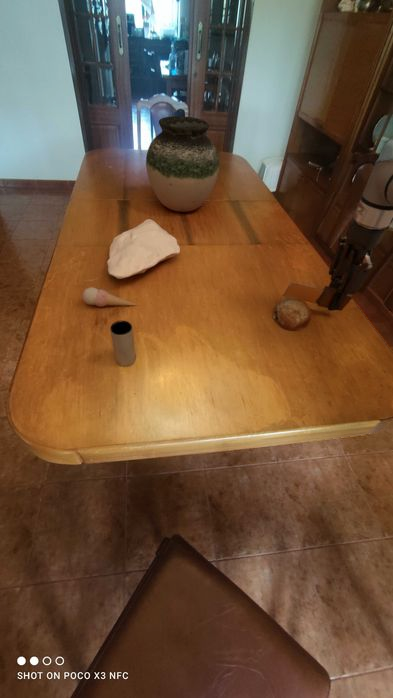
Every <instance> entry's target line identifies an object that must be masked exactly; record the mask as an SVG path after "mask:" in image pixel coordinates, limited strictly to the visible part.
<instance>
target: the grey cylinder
mask: <svg viewBox="0 0 393 698" xmlns="http://www.w3.org/2000/svg"><path fill="white" fill-rule="evenodd" d="M109 331H110V336H111V340H112V347H113V352H114V357H115V358H114V359H115V362H116V364H117V365H118V366H119V367H130V366H132V365H134V363H135V362H136V360H137V359H136V349H135V340H134V331H133V325H132V323H131V322H129V321H127V320H117V321H115V322H113V323H112V324H111V326H110V329H109Z"/></svg>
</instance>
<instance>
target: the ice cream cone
mask: <svg viewBox="0 0 393 698" xmlns="http://www.w3.org/2000/svg"><path fill="white" fill-rule="evenodd" d="M82 299H83V301H84V302H85V304H87V305H90V306H96V307H99V308H104V307H106V306H121V307H127V306H132V307H133V306H134V307H136V306H137V307H139V305H138V304H136V303H133V302H131V301H129V300H126V299H124V298H121V297H118V296H117V295H114V294H111V293H109V292H108V291H106V290H105V289H103V288H101V289H100V288H96V287H87V288H85V289H84V291H83V292H82Z"/></svg>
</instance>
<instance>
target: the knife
mask: <svg viewBox="0 0 393 698" xmlns="http://www.w3.org/2000/svg"><path fill="white" fill-rule="evenodd" d="M336 290H337V289H336V288H332V287H329V285H325V286H324V287H323V288H322V287H321V288H320V287H316V286H311V285H308V284H304V283H300V282H299V283H298V282H295V281H291V282H289V284H288V286H287V287H286V289H285V291H284V293H282V297H283V298H292V299H296V300H301V301H304V302H306V303H311V304H316V306H318V307H320V308H325V309H328V307H329V305H330V303H331V301H332V299H333V297H334V295H335V292H336ZM353 298H354V297H353V294H351V295H347V296H346V298H345V300H344V302H343V303H341V305H340V307H339V309H338V310H337V311H338V312H342V311H343V310H344V309H345V307H346V306H347V305H348V304H349V303H350V301H352V299H353Z"/></svg>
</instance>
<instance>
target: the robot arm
mask: <svg viewBox="0 0 393 698" xmlns="http://www.w3.org/2000/svg"><path fill="white" fill-rule="evenodd" d="M363 190H364V191H363V193H362V196H361V197H360V201H359V203H358V205H357V208H356V210H355V211H354V214H353V219H351V221H350V223H349V225H348V228H347V230H346V232H345V236H344V237H343V236H340V237H339V238H338V240H337V247H336V249H335V252H334V255H333V258H332V261H331V264H330V267H329V270H328V275H329V276H330V282H329V285H328V287H332V288H336V289H337V290H336V292H335V295H334V297H333V299H332V301H331V303H330V305H329V307H328V308H327V310H328V311H338V309H339V307H340V305H341V303H343V302H344V300H345V298H346V296H347V295H356V293H357V292H358V290H359V289H360V288H361V285H362V284H363V282H364V281H365V279H366V278H367V276H368V275H369V274H370V272H371V271H372V270H374V269H375V268H376V263H375V262H372V261H371V256H372V253H373V250H374V248H375V247H376V246H378V245H379V244H380V242H381V240H382V238H383V237H384V235H385V233H386V231H387V227H389V226H390V224H391V222H392V220H393V139H390V140H388V141H386V143H385V144H384V145H383V148H382V149H381V152H380V154H379V156H378V158H377V160H376V161H375V163H374V166H373V168H372V171H371V173H370V176H369V178H368V180H367V183H366V186H365V187H364V189H363Z"/></svg>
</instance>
